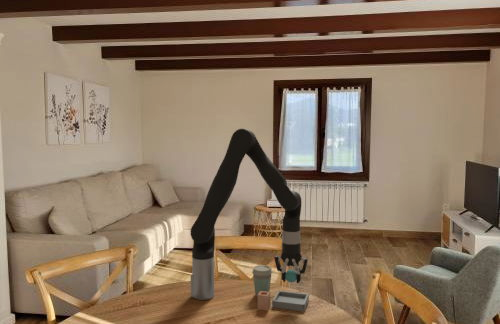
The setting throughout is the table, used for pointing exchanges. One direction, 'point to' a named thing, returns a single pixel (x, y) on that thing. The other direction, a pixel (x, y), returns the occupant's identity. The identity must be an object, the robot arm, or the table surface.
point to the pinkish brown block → (264, 300)
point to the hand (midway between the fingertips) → (291, 281)
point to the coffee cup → (262, 278)
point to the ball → (291, 276)
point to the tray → (290, 300)
